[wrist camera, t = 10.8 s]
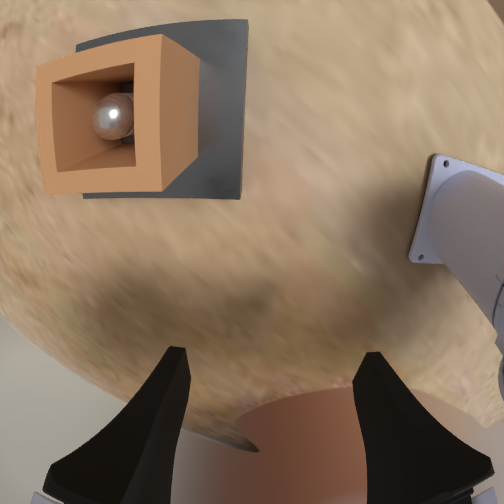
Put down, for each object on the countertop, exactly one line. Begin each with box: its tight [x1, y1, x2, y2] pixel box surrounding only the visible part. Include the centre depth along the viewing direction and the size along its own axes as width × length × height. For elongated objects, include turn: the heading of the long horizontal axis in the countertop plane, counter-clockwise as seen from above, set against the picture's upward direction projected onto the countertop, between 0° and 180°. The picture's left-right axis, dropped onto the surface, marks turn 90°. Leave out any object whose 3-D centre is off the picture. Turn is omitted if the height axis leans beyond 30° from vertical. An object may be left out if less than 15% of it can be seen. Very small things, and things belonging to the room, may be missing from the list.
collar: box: [36, 34, 200, 195], centre depth 10 cm, size 5×5×6 cm
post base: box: [76, 19, 249, 200], centre depth 12 cm, size 10×10×6 cm
